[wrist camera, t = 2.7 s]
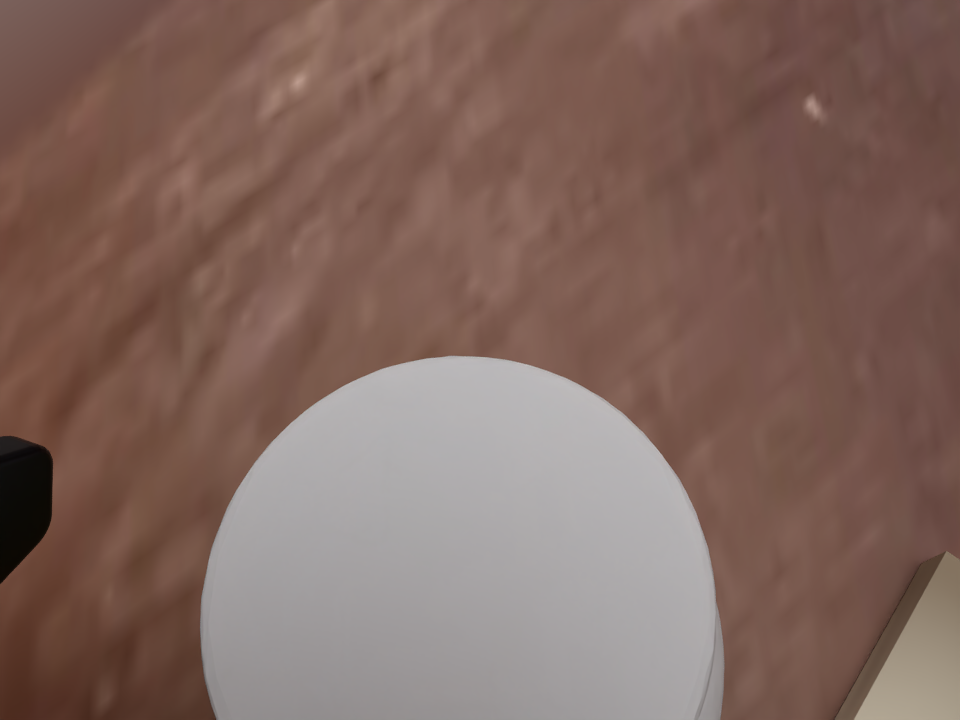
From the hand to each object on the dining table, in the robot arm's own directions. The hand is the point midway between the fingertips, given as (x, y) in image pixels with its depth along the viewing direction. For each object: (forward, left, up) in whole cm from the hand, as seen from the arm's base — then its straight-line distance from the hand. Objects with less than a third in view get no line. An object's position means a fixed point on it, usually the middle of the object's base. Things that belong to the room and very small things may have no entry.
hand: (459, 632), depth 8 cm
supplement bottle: (0, 0, -8) cm, 8 cm away
